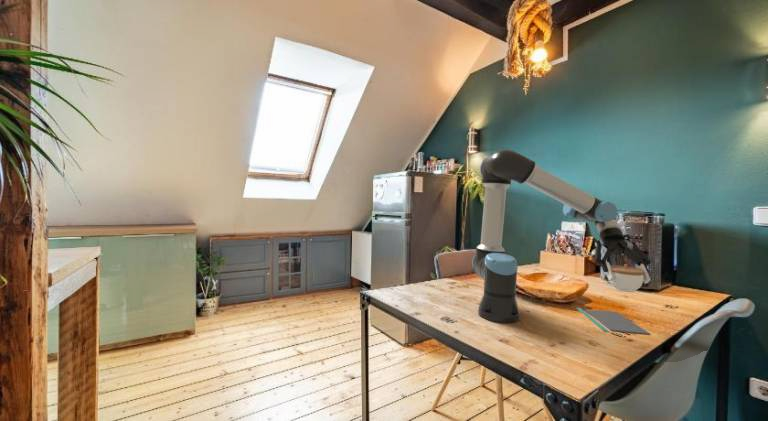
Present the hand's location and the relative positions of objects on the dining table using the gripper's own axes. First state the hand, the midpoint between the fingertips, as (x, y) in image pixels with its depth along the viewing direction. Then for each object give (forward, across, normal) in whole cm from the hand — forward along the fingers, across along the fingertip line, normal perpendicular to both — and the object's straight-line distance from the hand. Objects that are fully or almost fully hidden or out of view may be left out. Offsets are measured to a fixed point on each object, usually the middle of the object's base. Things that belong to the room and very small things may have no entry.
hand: (629, 280), depth 116 cm
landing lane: (+7, +2, -17) cm, 19 cm away
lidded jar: (+1, 0, -5) cm, 5 cm away
